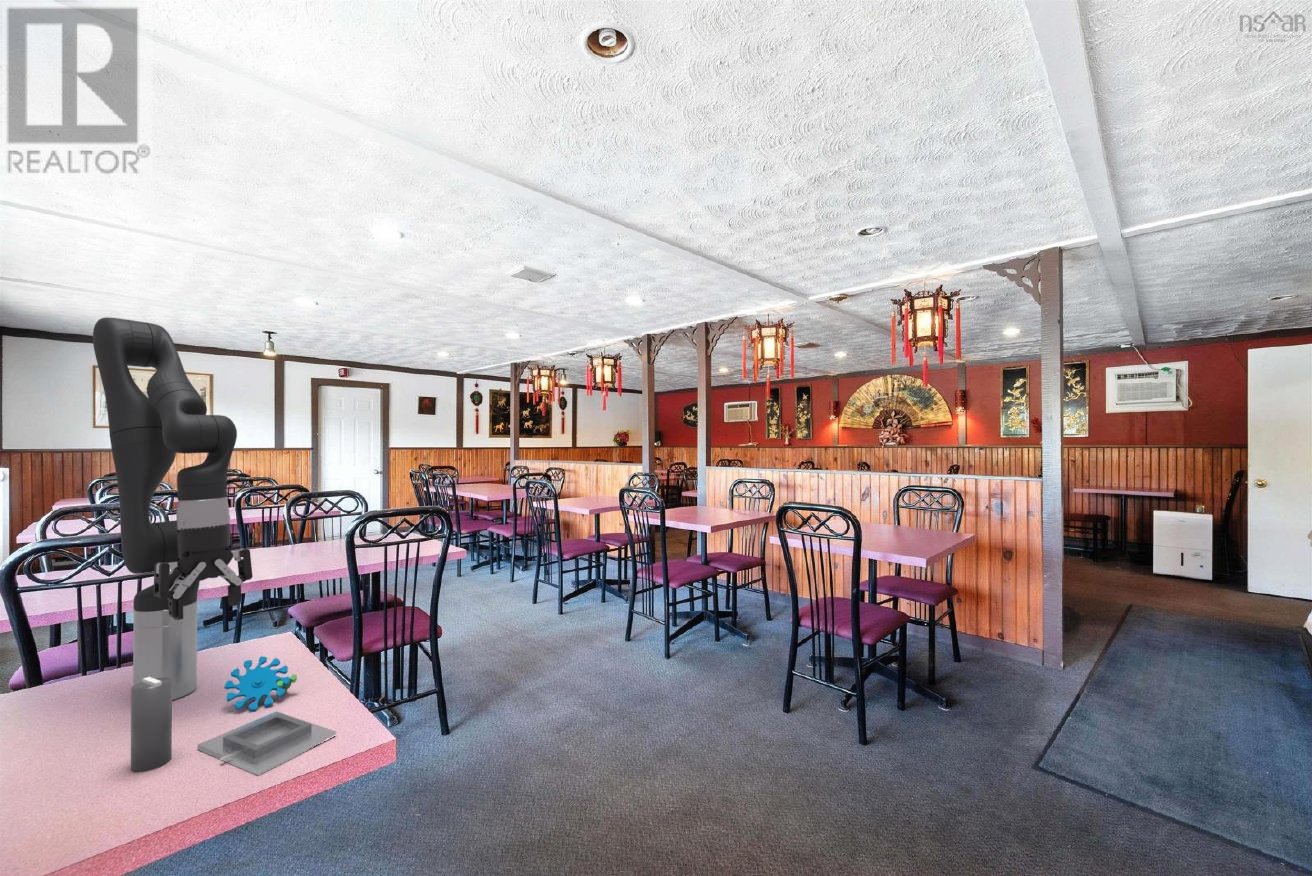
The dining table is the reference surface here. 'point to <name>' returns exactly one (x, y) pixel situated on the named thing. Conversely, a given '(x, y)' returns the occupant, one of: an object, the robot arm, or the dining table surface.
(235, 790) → the dining table surface
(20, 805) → the dining table surface
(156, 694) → the grey peg
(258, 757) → the grey peg base plate
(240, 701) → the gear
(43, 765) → the dining table surface
